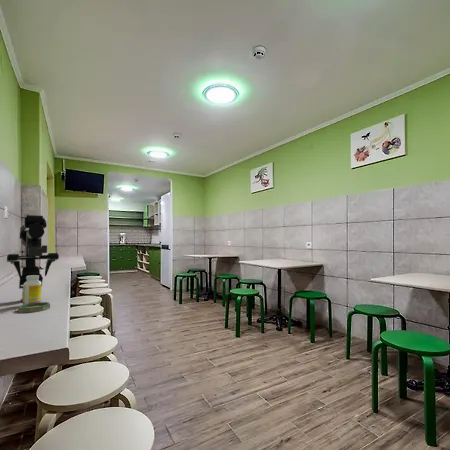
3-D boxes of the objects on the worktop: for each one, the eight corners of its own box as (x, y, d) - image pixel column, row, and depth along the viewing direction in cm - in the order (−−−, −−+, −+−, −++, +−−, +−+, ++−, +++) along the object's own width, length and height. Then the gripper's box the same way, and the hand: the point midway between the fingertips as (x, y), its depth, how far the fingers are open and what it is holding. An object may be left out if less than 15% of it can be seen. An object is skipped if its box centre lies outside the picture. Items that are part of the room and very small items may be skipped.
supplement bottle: (44, 303, 124) (45, 274, 125) (32, 306, 117) (33, 276, 118) (30, 303, 124) (31, 274, 125) (18, 306, 118) (19, 276, 119)
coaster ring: (17, 309, 113) (17, 304, 113) (48, 305, 120) (48, 301, 120) (18, 314, 105) (18, 309, 105) (51, 309, 112) (51, 305, 112)
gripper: (8, 238, 111) (6, 277, 109) (60, 239, 123) (60, 273, 120) (7, 243, 120) (6, 279, 117) (56, 243, 132) (56, 275, 129)
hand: (33, 276), depth 120 cm, fingers open, 9 cm apart
